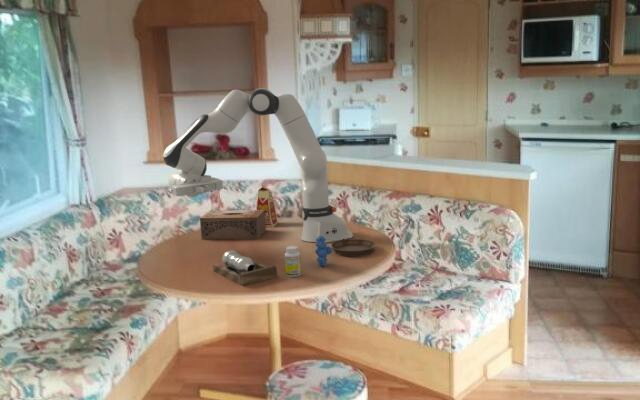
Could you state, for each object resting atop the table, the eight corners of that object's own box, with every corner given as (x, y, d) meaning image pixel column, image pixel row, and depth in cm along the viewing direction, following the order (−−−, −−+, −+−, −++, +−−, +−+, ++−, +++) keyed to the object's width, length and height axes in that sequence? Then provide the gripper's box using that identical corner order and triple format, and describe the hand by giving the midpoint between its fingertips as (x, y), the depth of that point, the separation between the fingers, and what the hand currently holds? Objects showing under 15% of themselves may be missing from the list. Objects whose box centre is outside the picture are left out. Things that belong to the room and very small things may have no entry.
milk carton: (273, 227, 294) (270, 185, 289) (254, 227, 295) (251, 185, 291) (278, 222, 302) (275, 181, 298) (259, 222, 304) (257, 181, 300)
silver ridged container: (239, 256, 239) (263, 268, 222) (227, 269, 237) (250, 282, 220) (229, 245, 236) (253, 256, 219) (216, 258, 234) (239, 270, 217)
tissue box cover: (265, 231, 288) (264, 209, 286) (258, 239, 274) (256, 217, 272) (211, 231, 292) (209, 210, 290) (201, 239, 278) (199, 218, 276)
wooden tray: (213, 270, 232) (212, 260, 232) (245, 262, 240) (245, 252, 239) (242, 285, 214) (241, 274, 214) (276, 276, 222) (276, 266, 221)
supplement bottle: (292, 271, 227) (291, 244, 225) (304, 274, 224) (303, 246, 222) (282, 275, 223) (280, 248, 221) (293, 278, 220) (292, 250, 218)
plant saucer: (351, 243, 261) (351, 236, 261) (384, 250, 249) (384, 242, 249) (322, 253, 249) (321, 246, 248) (355, 261, 237) (355, 253, 236)
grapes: (336, 270, 227) (334, 238, 224) (317, 271, 226) (315, 239, 223) (331, 260, 238) (330, 230, 235) (313, 262, 237) (312, 231, 235)
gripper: (166, 181, 248) (180, 185, 237) (213, 174, 259) (228, 178, 248) (167, 197, 249) (181, 202, 238) (214, 189, 261) (229, 193, 249)
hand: (206, 189), depth 243 cm, fingers closed
